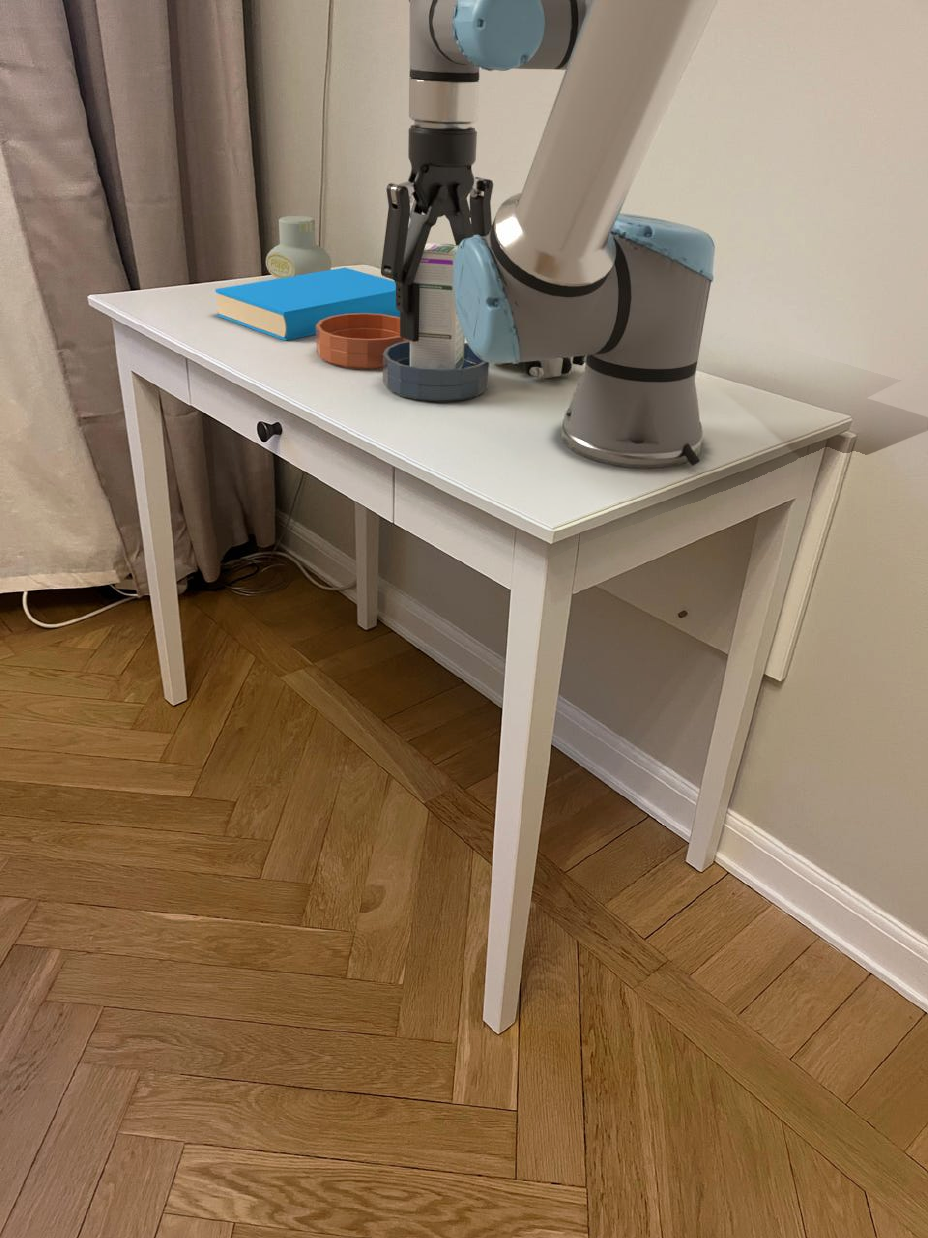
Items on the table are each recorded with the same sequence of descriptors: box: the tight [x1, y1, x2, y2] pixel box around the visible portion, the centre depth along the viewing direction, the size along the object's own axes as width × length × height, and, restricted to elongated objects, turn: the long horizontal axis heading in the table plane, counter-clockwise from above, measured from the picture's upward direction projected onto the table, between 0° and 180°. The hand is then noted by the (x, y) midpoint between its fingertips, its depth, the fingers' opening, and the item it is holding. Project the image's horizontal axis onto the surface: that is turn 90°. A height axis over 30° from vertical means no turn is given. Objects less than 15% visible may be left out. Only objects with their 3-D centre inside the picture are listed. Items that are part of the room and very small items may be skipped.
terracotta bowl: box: [315, 313, 410, 370], centre depth 132 cm, size 13×13×4 cm
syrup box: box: [410, 242, 466, 370], centre depth 118 cm, size 6×6×14 cm
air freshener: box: [265, 215, 332, 279], centre depth 165 cm, size 11×8×10 cm
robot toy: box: [492, 355, 587, 379], centre depth 130 cm, size 12×4×15 cm
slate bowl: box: [382, 341, 491, 403], centre depth 122 cm, size 13×13×4 cm
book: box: [215, 267, 400, 342], centre depth 148 cm, size 17×4×25 cm
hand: (437, 333), depth 120 cm, fingers closed on syrup box, 8 cm apart
